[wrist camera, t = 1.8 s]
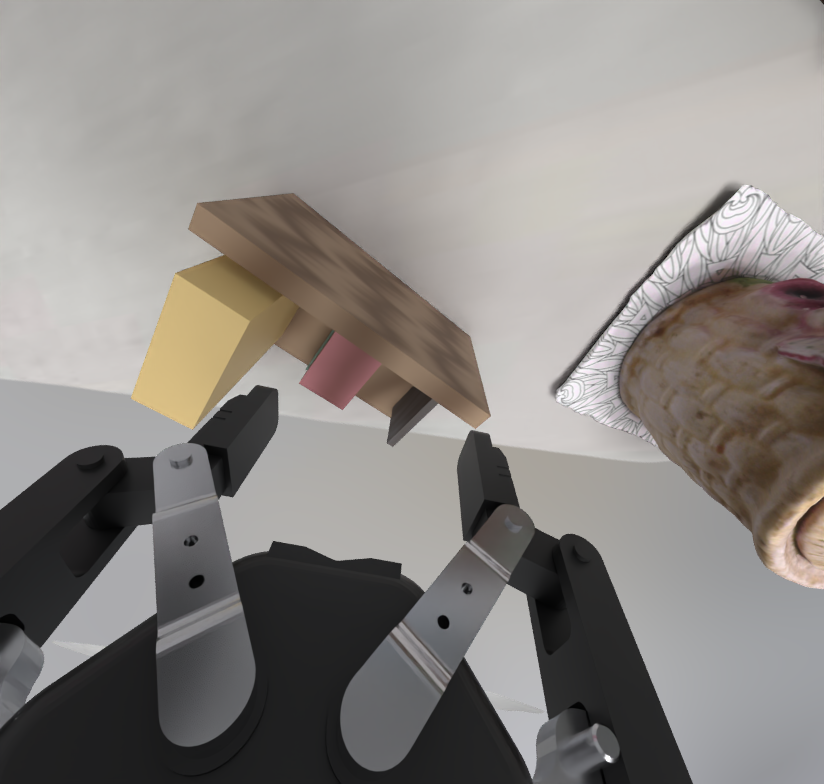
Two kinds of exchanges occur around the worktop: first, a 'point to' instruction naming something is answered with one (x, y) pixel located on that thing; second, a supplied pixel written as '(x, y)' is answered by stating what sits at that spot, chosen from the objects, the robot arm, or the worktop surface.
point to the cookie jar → (729, 374)
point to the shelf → (349, 314)
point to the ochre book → (209, 338)
